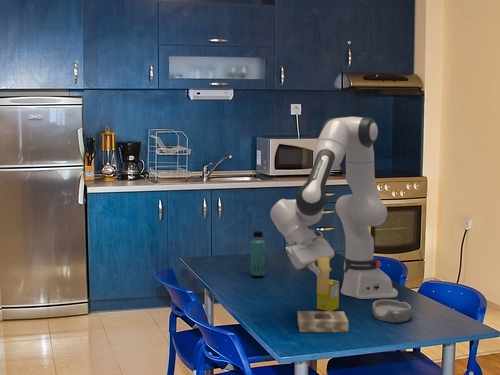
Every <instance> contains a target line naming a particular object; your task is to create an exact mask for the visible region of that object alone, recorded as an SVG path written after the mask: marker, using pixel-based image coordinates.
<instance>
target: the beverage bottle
mask: <svg viewBox="0 0 500 375" xmlns="http://www.w3.org/2000/svg"><path fill="white" fill-rule="evenodd" d="M263 234H264V233H263V231H259V230H258V231H253V236H252V237H253V239H252V240H251V242H250V275H252V276H263V275H265V273H266V241H265V240H264V239H262V238H263V237H264V235H263Z"/></svg>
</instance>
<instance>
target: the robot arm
mask: <svg viewBox="0 0 500 375" xmlns="http://www.w3.org/2000/svg"><path fill="white" fill-rule="evenodd" d="M378 135H379V126H378V123H377V122H376V121H375V120H374V118H371V117H365V116H364V117H360V116H347V117H344V116H343V117H330V118H328V119H326V120H325V121H324V123H323V124H322V126H321V130H320V134H319V136H318V138H317V141H316V144H315V147H314V150H313V158H312V160H313V165H312V168H311V171H310V174H309V175H308V178H307V181H306V182H305V183H304V184H303V185H301V187H300V188H299V189H298V190H297V192H296V195H295V199H286V198H281V199H279V200H278V201H276V202H275V203H274V204H273V205H272V207H271V209H270V212H269V213H270V214H269V216H270V218H271V220H272V222H273V224H274V225H275V227H276V229H277V231H279V233H281V235H283V236H284V239H285V242H286V243H287V244H286V245H285V251H286V253H287V256H288V258H289V260H290V262H291V264H292V265H293V267H294V268H295V269H297V270H302V269H304V268H308V269H309V270H310V271H312V272H313V273H314V274H315V275H316V277H317V276H319V275H321V274H322V273H323V272H322V271H321V269H318V268H317V266H316V265H317V263H318V257H329V258H330V260H331V259H332V258H333V257H335V251H334V249H333V247H331V244H330V243H329V242H328V241H327V240H326V239H325V238H324V235H323V233H322V232H321V231H318V230H314V229H311V228H309V227H311V226H314V225H315V224H317V223H319V221H321V219H322V217H323V213H324V207H325V204H326V200H327V199H326V196H327V195H326V191H325V190H326V185H327V181H328V179H329V176H330V173H331V171H333V170H336V169H338V168H340V165H341V163H342V161H343V159H344V157H345V180H346V183H347V185H348V186H349V188H350V190H351V192H352V194H346V195H345V194H344V195H342V196H340V197H338V199H337V200H336V203H335V212H336V214H337V216H338V217H339V219H340V221H341V224H342V229H343V232H344V238H345V256H344V258H343V271H344V274H343V282H342V286H341V289H340V293H341V294H342V295H344V296H348V297H352V298H356V299H359V300H361V299H362V300H365V299H367V300H368V299H370V300H371V299H387V298H388V299H390V298H397V297H398V295H399V292H398V290H397V289H396V288H394V287H393V282H392V280H391V278H390V276H389V275H387V274H386V273H385V272H384V271H383V270H381V269H380V267H381V266H382V262H381V261H380V260H378V259H376V258H374V254H375V252H374V251H375V250H374V249H375V246H374V245H375V240H374V237H373V235H372V234H371V233H370V230H369V227H378V226H382V224H383V223H385V221H386V219H387V216H388V209H387V206H386V205H385V204H384V202H383V201H382V200H381V197H380V195H379V191H378V188H377V184H376V177H375V175H376V174H375V151H374V146H373V144H375V142H376V141H377V139H378ZM331 271H332V268H331V266H329V273H330V272H331Z"/></svg>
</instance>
